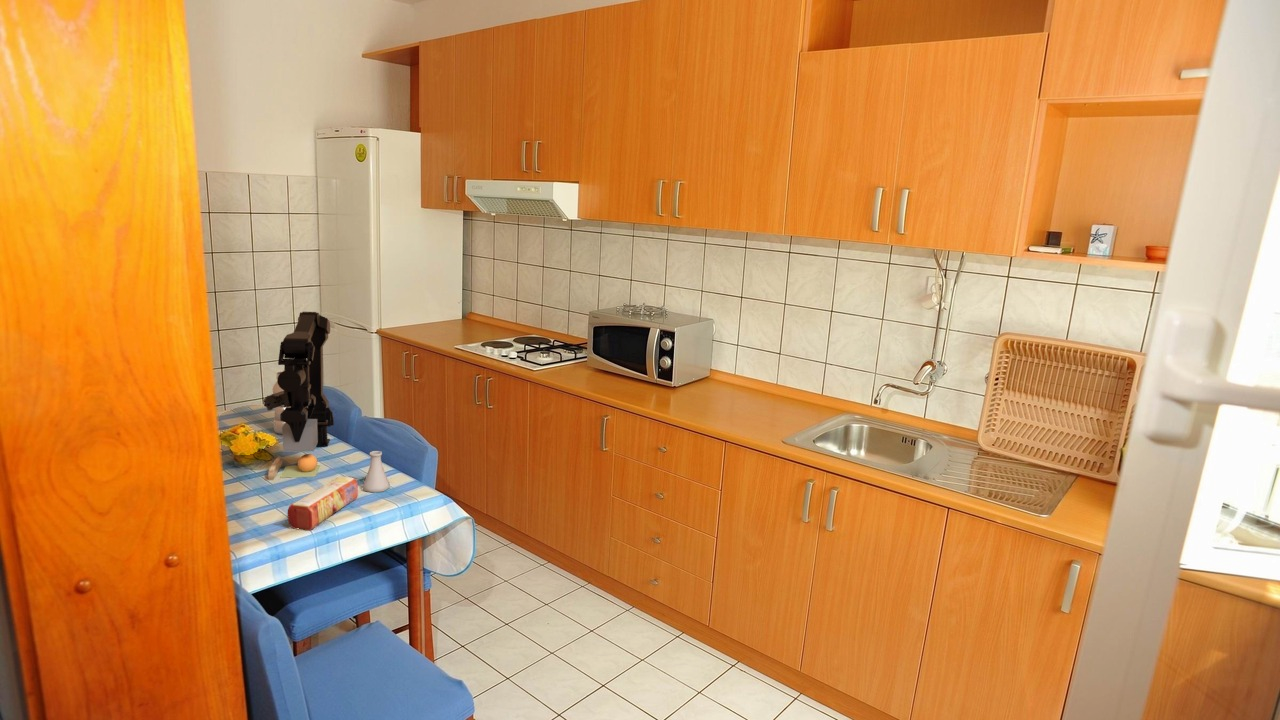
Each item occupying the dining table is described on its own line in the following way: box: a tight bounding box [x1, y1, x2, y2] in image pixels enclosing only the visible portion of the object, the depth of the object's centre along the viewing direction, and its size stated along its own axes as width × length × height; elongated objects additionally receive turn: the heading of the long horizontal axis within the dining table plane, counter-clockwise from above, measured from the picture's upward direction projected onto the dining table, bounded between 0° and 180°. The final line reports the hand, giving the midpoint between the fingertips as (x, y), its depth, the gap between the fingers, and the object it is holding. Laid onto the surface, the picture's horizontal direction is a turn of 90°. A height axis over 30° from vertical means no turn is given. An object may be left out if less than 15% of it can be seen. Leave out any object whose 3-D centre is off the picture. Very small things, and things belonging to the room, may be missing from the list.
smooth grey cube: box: [281, 419, 318, 453], centre depth 203 cm, size 8×8×7 cm
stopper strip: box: [268, 456, 282, 481], centre depth 203 cm, size 12×1×2 cm, turn 16°
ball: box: [297, 453, 318, 472], centre depth 205 cm, size 5×5×5 cm
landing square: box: [279, 464, 321, 479], centre depth 205 cm, size 9×9×1 cm
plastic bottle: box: [271, 371, 289, 435], centre depth 236 cm, size 6×7×20 cm
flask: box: [361, 450, 391, 493], centre depth 196 cm, size 7×7×10 cm
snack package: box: [287, 476, 359, 531], centre depth 179 cm, size 21×7×7 cm, turn 171°
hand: (299, 437), depth 203 cm, fingers closed on smooth grey cube, 8 cm apart
